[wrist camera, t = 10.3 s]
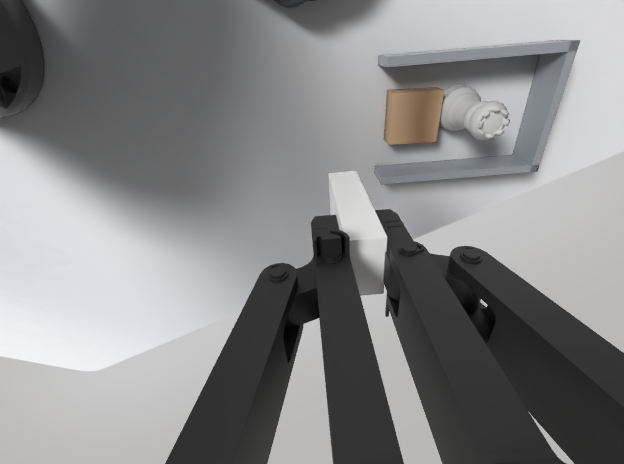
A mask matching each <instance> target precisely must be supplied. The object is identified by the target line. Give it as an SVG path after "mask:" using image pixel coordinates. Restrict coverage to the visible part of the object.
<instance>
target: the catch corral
mask: <svg viewBox="0 0 624 464" xmlns="http://www.w3.org/2000/svg"><path fill="white" fill-rule="evenodd" d="M579 43H580V40H557V41H541V42H530V43H518V44H507V45H495V46H484V47H472V48H461V49H449V50H437V51H426V52H414V53H403V54H391V55H380V56H379V57H378V65H380V66H384V67H396V66H407V65H419V64H431V63H442V62H454V61H465V60H477V59H489V58H500V57H512V56H523V55H535V54H540V57H539V60H538V64H537V68H536V71H535V75H534V78H533V82H532V86H531V89H530V93H529V97H528V100H527V104H526V107H525V111H524V115H523V118H522V122H521V126H520V129H519V133H518V137H517V140H516V144H515V147H514V151H513V155H504V156H492V157H481V158H469V159H457V160H445V161H433V162H421V163H409V164H397V165H385V166H375V171H374V173H375V175H376V176H377V178H378V180H379V182H380V183H381V185H382V184H394V183H406V182H418V181H430V180H442V179H454V178H466V177H478V176H490V175H502V174H514V173H526V172H537V171H538V168H539V165H540V162H541V159H542V155H543V152H544V149H545V146H546V143H547V140H548V137H549V134H550V131H551V128H552V125H553V122H554V119H555V116H556V113H557V110H558V107H559V104H560V101H561V98H562V95H563V92H564V89H565V85H566V82H567V79H568V76H569V73H570V70H571V67H572V64H573V61H574V58H575V55H576V52H577V49H578V46H579Z"/></svg>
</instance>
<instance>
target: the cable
mask: <svg viewBox="0 0 624 464" xmlns="http://www.w3.org/2000/svg"><path fill="white" fill-rule="evenodd" d="M275 1H276V2H277V3H278V4H280V5H281V6H284V7H288V8H292V7H296V6H299V5H301V4H303V3H304V2H305V1H307V0H275ZM309 1H314V0H309Z"/></svg>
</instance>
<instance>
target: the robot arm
mask: <svg viewBox="0 0 624 464" xmlns="http://www.w3.org/2000/svg"><path fill="white" fill-rule="evenodd" d="M43 75H44V61H43V53H42V48H41V43H40V40H39V37H38V34H37V31H36V28H35V26H34V24H33V21H32V19H31V17H30V15H29V13H28V11H27V10H26V8H25V6H24V4H23V3H22V1H21V0H0V118H2V117H6V116H10V115H13V114H16V113H18V112H20V111H22V110H24V109H25V108H27V107H28V106H29V105H30V104H31V103H32V102H33V101H34V100H35V98H36V97H37V95H38V93H39V91H40V88H41V85H42V81H43ZM328 176H329V197H330V215H327V216H316V217H314V219H313V220H312V222H311V228H312V240H313V251H314V257H313V259H312V261H311V262H310V263H309V264H307V265H305V266H303V267H301V268H298V269H295V268H294V267H293V266H291V265H290V264H285V263H278V264H274V265H270V266H268V267H267V268H265V269H264V270H263V271H262V272H261V274H260V276H259V278H258V280H257V282H256V284H255V286H254V288H253V290H252V292H251V294H250V296H249V298H248V300H247V302H246V304H245V306H244V308H243V310H242V312H241V314H240V316H239V318H238V320H237V322H236V324H235V326H234V328H233V330H232V332H231V334H230V336H229V338H228V340H227V342H226V344H225V345H224V347H223V349H222V351H221V353H220V356H219V357H218V360H217V362H216V364H215V366H214V367H213V369H212V371H211V373H210V376H209V377H208V380H207V381H206V384H205V386H204V387H203V389H202V391H201V393H200V396H199V397H198V400H197V401H196V403H195V405H194V407H193V409H192V411H191V413H190V415H189V417H188V419H187V421H186V423H185V425H184V427H183V429H182V431H181V433H180V435H179V437H178V439H177V441H176V443H175V445H174V447H173V449H172V451H171V453H170V455H169V457H168V459H167V461H166V463H165V464H267V462H268V458H269V455H270V451H271V447H272V443H273V440H274V436H275V432H276V428H277V425H278V421H279V417H280V413H281V410H282V406H283V402H284V398H285V394H286V390H287V387H288V383H289V379H290V376H291V372H292V368H293V364H294V361H295V357H296V353H297V349H298V345H299V342H300V338H301V334H302V330H303V324H304V323H307V322H309V321H312V320H315V319H317V318H320V329H321V339H322V350H323V360H324V372H325V382H326V392H327V403H328V415H329V425H330V436H331V446H332V457H333V464H404V463H403V459H402V455H401V451H400V447H399V444H398V440H397V436H396V432H395V428H394V424H393V421H392V417H391V413H390V409H389V405H388V401H387V397H386V394H385V390H384V386H383V382H382V379H381V374H380V370H379V366H378V363H377V359H376V355H375V351H374V347H373V344H372V340H371V336H370V332H369V328H368V324H367V320H366V317H365V313H364V309H363V305H362V301H361V297H360V295H371V294H382V293H383V292H384V284H385V287H386V290H387V299H386V317H387V316H389V311H390V313H391V316H392V319H393V322H394V325H395V328H396V331H397V334H398V337H399V339H400V342H401V345H402V348H403V351H404V354H405V356H406V360H407V362H408V365H409V368H410V371H411V374H412V377H413V380H414V383H415V385H416V388H417V391H418V394H419V397H420V400H421V403H422V406H423V409H424V412H425V414H426V417H427V420H428V423H429V426H430V429H431V432H432V435H433V438H434V440H435V443H436V446H437V449H438V452H439V455H440V458H441V461H442V463H443V464H566V463H564V462H562V461H561V460H560V459H559V458H558V457H557V456H556V454H555V453H554V452H553V450H552V449H551V447H550V446H549V444H548V442H547V441H546V439H545V438H544V436H543V434H542V433H541V432H540V430H539V428H538V427H537V425H536V423H535V422H534V420H533V418H532V417H531V415H532V416H533V417H534V418H535V419H536V420H537V422H538V423H539V424H540V425H541V426H542V427H543V428H544V430H546V432H547V433H548V434H549V435H550V436H551V437H552V439H553V440H554V441H555V442H556V443H557V444H558V445H559V447H560V448H561V449H562V450H563V451H564V452H565V453H566V454H567V456H568V457H569V458H570V459H571V460H572V461H573V462H574V464H624V353H623V352H621V351H620V350H619V349H617V348H616V347H615V346H613V345H612V344H610V343H609V342H608V341H606V340H605V339H604V338H602V337H601V336H600V335H598V334H597V333H595V332H594V331H593V330H591V329H590V328H589V327H587V326H586V325H584V324H583V323H582V322H580V321H579V320H578V319H576V318H575V317H574V316H572V315H571V314H570V313H568V312H567V311H566V310H564V309H563V308H561V307H560V306H559V305H557V304H556V303H554V302H553V301H552V300H551V299H549V298H548V297H546V296H545V295H544V294H542V293H541V292H540V291H538V290H537V289H535V288H534V287H533V286H531V285H530V284H529V283H527V282H526V281H525V280H523V279H522V278H521V277H519V276H518V275H517V274H515V273H514V272H512V271H511V270H509V269H508V268H507V267H505V266H504V265H503V264H501V263H500V262H499V261H497V260H496V259H495V258H493V257H492V256H491V255H489V254H488V253H487V252H485V251H483V250H481V249H478V248H475V247H471V246H461V247H457V248H454V249H453V250H452V252H451V254H450V256H443V255H435V254H430V253H429V252H428V251H427V249H426V248H425V247H424V246H423V245H421V244H420V243H418V242H414V241H413V240H412V238H411V236H410V235H409V233H408V231H407V229H406V228H405V226H404V224H403V223H402V221H401V219H400V218H399V216H398V214H396V213H395V212H393V211H392V210H390V209H386V210H374V208H373V206H372V204H371V201H370V199H369V197H368V195H367V193H366V191H365V189H364V187H363V184H362V182H361V180H360V178H359V176H358V174H357V172H356V171H347V172H336V173H328ZM481 299H482V300H483V301H484V302H485V303H486V304H487V305H488V306H487V307H485V306H484V305H482V304H481V303H480V300H481ZM528 411H529V412H530V413H531V415H530V414H529V412H528Z"/></svg>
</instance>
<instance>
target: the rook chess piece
mask: <svg viewBox="0 0 624 464" xmlns="http://www.w3.org/2000/svg"><path fill="white" fill-rule="evenodd" d="M508 115H509V113H508V112H507V109H506V107H505V106H504V104H502V103H500V102H498V101H493V102H487V101H483V102H481V97H480V96H479V94H478V93H477V92H476V90H475V89H472V88H470V87H468V86H466V85H455V86H453V87H451V88H449V89H447V90H446V91H445V92H444V95H443V101H442V108H441V114H440V121H439V126H440V127H442V128H445V129H447V130H450V131H459V130H463V129H465V128H466V130H467V131H468V132H470V133H471V135H472V136H473V137H474V138H476V139H478V140H488V139H494V137H495V136H496V135H498V136H500V135H501V134H502V133H504V131H503V130H502V129H503V128H504V126H508V125H509V122H510V120H509V119H507V118H508Z"/></svg>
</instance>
